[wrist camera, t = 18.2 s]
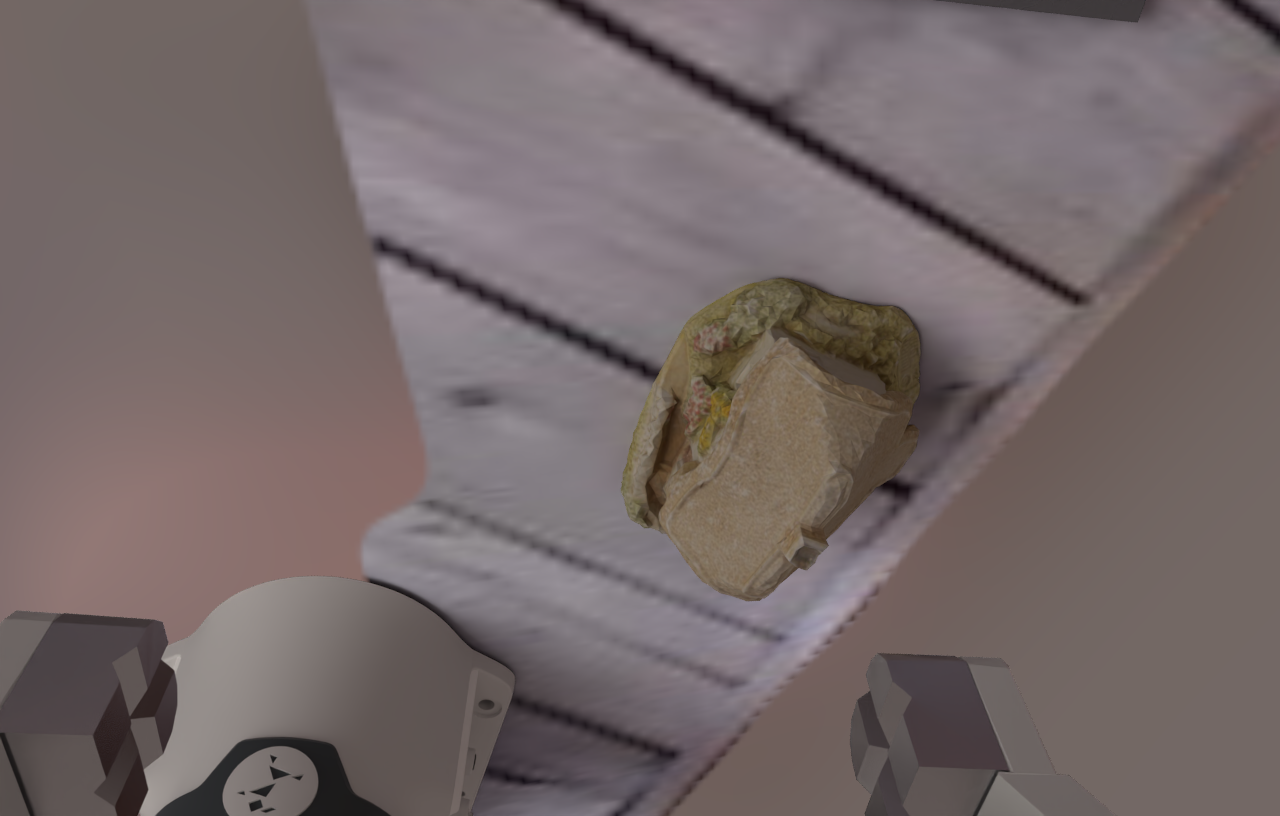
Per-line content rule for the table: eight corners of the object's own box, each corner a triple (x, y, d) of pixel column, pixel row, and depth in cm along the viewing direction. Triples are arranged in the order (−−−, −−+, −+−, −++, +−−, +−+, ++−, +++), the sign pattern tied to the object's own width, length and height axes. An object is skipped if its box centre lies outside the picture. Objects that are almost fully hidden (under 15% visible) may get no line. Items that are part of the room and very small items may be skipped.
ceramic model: (749, 223, 40) (789, 355, 32) (963, 341, 44) (1049, 486, 36) (580, 469, 47) (578, 630, 39) (778, 554, 51) (815, 718, 42)
